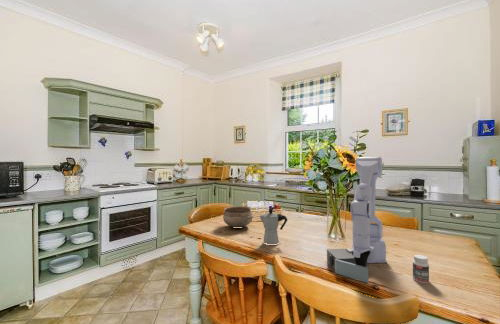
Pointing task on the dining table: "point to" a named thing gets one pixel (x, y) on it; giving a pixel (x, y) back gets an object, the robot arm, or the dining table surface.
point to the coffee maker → (272, 226)
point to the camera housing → (340, 256)
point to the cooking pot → (237, 216)
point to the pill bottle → (420, 269)
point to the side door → (351, 270)
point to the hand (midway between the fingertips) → (361, 270)
